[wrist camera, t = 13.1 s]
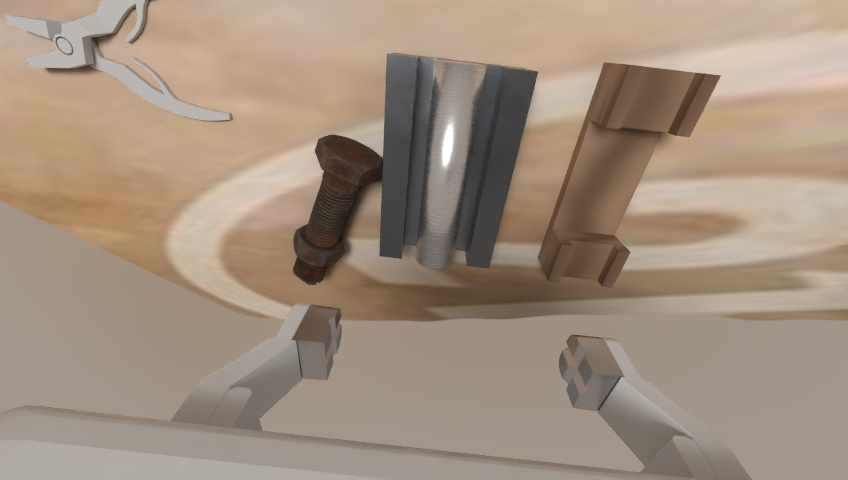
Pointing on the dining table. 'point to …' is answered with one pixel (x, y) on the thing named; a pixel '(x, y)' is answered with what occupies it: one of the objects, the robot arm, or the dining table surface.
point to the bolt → (333, 204)
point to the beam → (616, 164)
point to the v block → (488, 164)
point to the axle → (447, 158)
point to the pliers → (82, 51)
